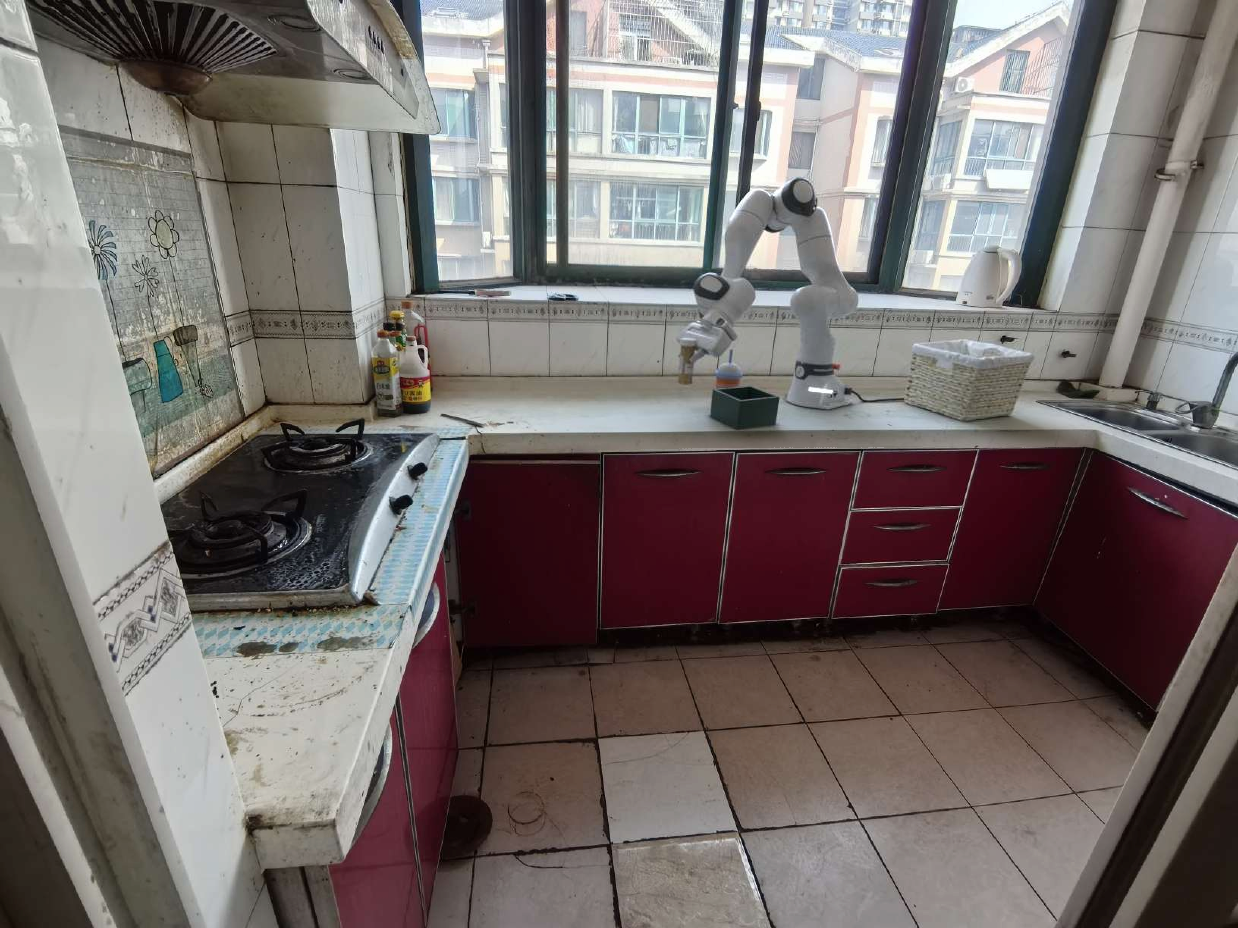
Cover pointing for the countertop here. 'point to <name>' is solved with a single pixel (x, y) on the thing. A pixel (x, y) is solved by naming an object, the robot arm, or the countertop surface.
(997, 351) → the basket
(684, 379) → the sprinkles bottle
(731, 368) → the cup with straw
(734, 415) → the bin
